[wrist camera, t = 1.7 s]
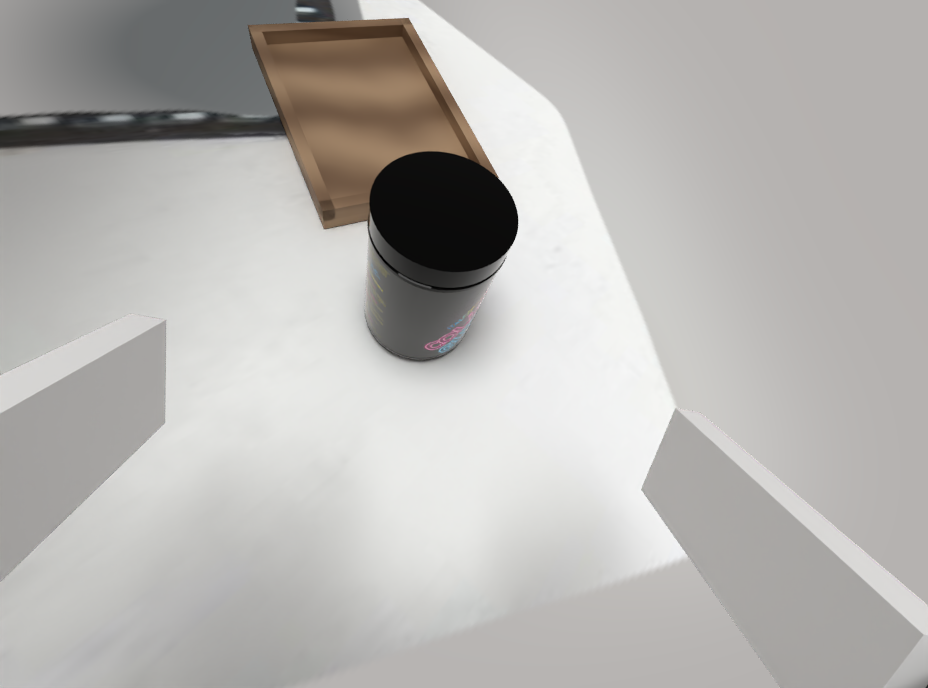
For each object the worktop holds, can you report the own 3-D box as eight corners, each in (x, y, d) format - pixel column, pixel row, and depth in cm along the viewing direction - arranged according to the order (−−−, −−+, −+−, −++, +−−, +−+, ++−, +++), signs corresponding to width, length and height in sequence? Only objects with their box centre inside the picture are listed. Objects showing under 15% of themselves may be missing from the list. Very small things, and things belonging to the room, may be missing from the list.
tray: (252, 48, 36) (247, 25, 34) (406, 39, 40) (408, 18, 39) (324, 228, 30) (322, 211, 29) (491, 194, 35) (498, 177, 33)
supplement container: (403, 384, 27) (429, 299, 18) (342, 300, 29) (337, 180, 19) (487, 331, 30) (548, 233, 21) (428, 256, 31) (459, 133, 22)
